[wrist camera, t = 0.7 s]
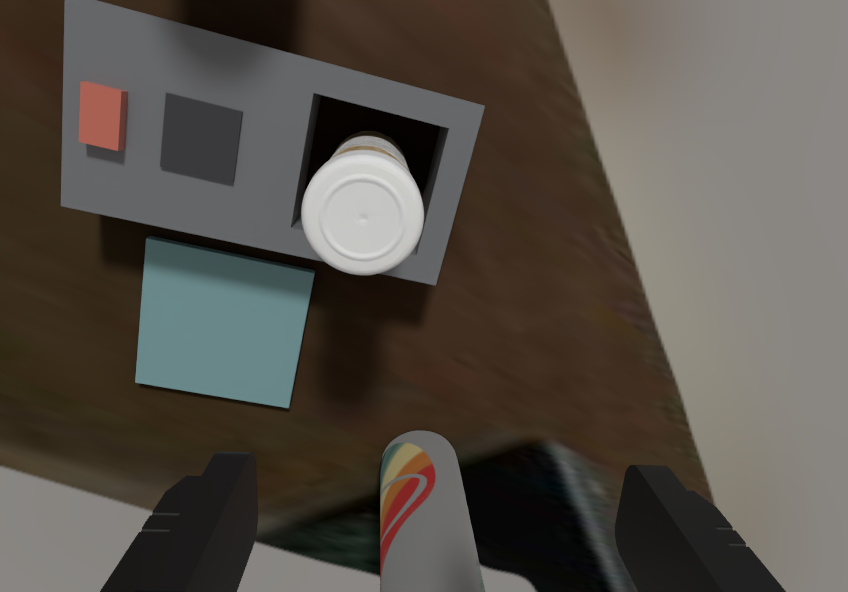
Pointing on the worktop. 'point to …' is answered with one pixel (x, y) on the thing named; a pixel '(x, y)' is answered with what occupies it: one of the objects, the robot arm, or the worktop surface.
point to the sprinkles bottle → (363, 206)
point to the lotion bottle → (425, 519)
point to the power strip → (226, 132)
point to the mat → (221, 322)
